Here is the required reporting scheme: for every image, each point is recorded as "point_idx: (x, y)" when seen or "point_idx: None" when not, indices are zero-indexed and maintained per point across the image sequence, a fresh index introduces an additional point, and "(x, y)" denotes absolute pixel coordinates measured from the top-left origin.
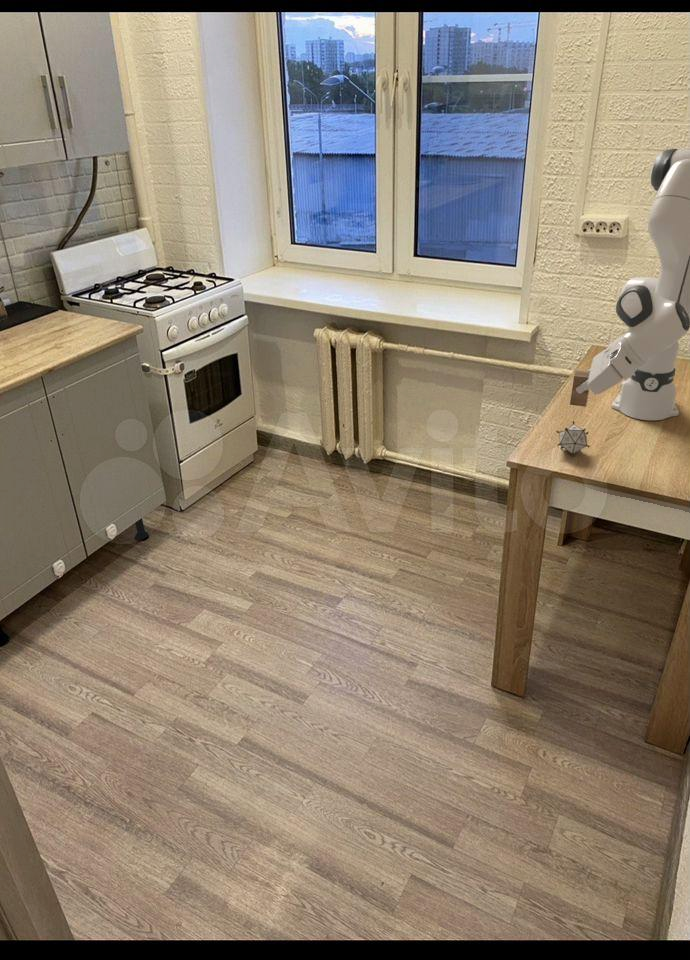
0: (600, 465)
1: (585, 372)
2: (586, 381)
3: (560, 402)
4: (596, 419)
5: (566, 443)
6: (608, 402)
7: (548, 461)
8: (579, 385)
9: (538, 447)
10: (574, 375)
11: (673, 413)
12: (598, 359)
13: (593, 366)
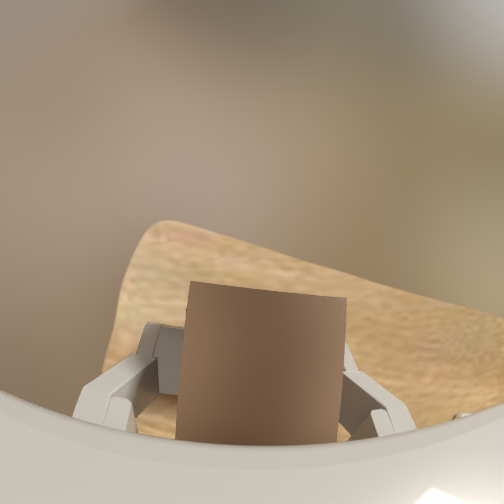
0: (157, 424)
1: (312, 394)
2: (95, 397)
3: (457, 308)
4: (408, 398)
5: None
6: (472, 402)
7: (150, 293)
8: (158, 346)
9: (225, 267)
10: (203, 285)
11: None
12: (463, 487)
13: (341, 479)
